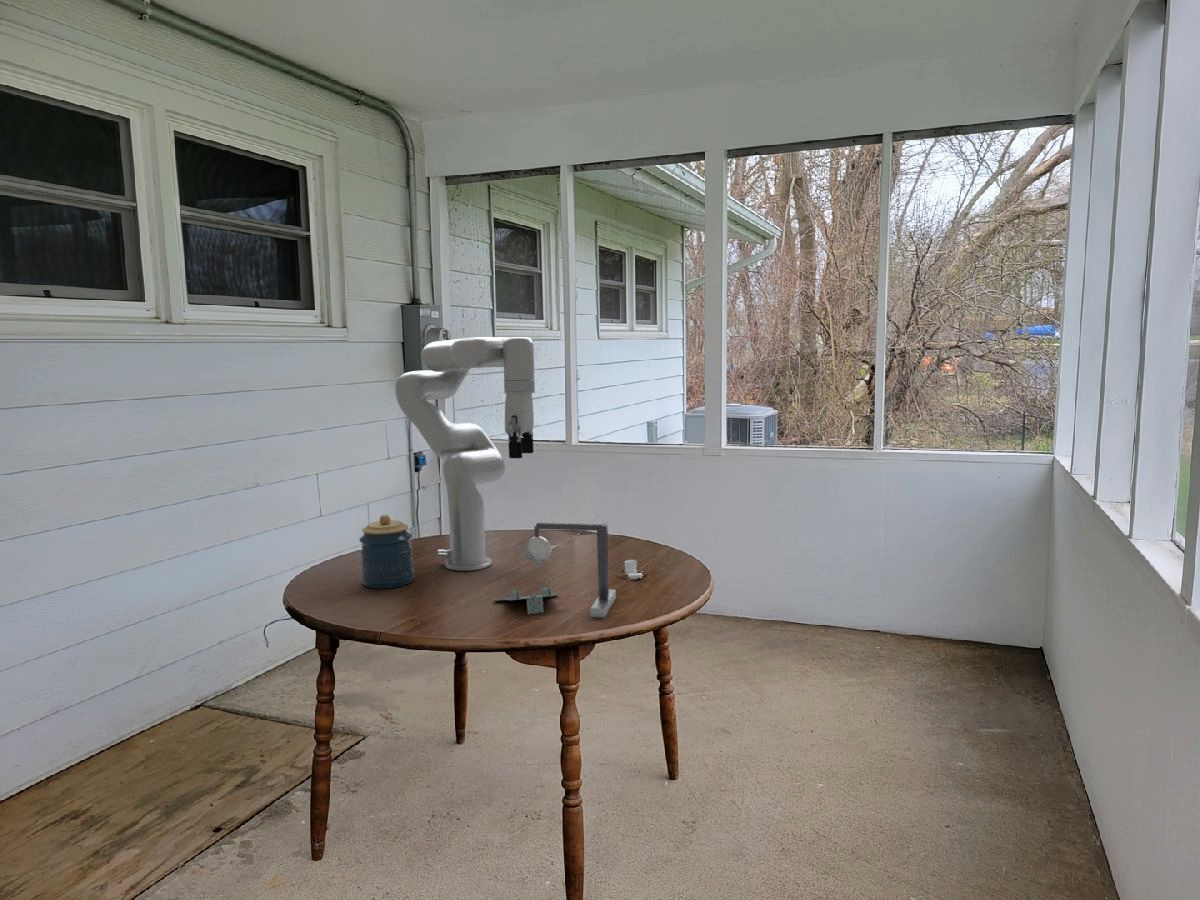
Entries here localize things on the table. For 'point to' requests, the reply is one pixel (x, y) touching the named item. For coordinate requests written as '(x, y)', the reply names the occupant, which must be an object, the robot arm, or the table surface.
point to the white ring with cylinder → (632, 569)
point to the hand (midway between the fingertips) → (521, 455)
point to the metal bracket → (532, 599)
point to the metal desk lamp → (540, 550)
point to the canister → (386, 554)
